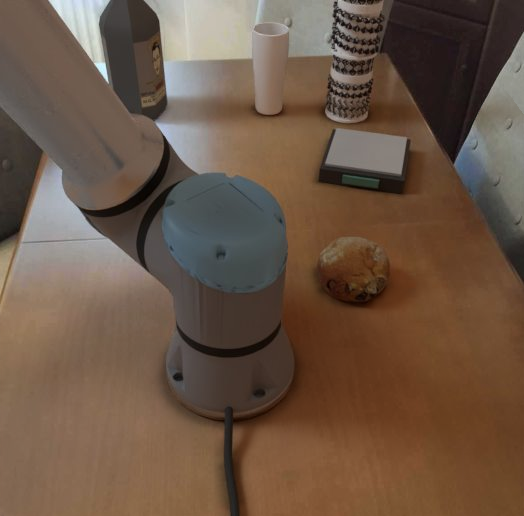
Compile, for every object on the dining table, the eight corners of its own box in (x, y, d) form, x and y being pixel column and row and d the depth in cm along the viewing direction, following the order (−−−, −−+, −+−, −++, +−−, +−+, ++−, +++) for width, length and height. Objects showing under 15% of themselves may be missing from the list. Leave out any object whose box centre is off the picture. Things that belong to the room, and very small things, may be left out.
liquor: (109, 117, 115) (76, -70, 93) (129, 96, 121) (103, -83, 99) (152, 124, 113) (130, -64, 91) (171, 103, 119) (154, -78, 97)
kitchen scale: (401, 195, 98) (405, 179, 96) (317, 183, 100) (319, 166, 98) (408, 152, 108) (411, 136, 106) (331, 141, 110) (333, 126, 108)
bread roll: (382, 287, 88) (390, 233, 85) (390, 309, 79) (399, 249, 76) (315, 282, 89) (320, 228, 86) (315, 302, 79) (321, 243, 76)
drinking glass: (246, 105, 119) (245, 24, 108) (276, 99, 121) (279, 19, 110) (260, 120, 115) (261, 38, 104) (291, 114, 117) (296, 32, 106)
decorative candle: (314, 106, 119) (327, -38, 101) (355, 99, 122) (375, -43, 103) (336, 127, 114) (353, -22, 95) (378, 119, 116) (403, -28, 98)
